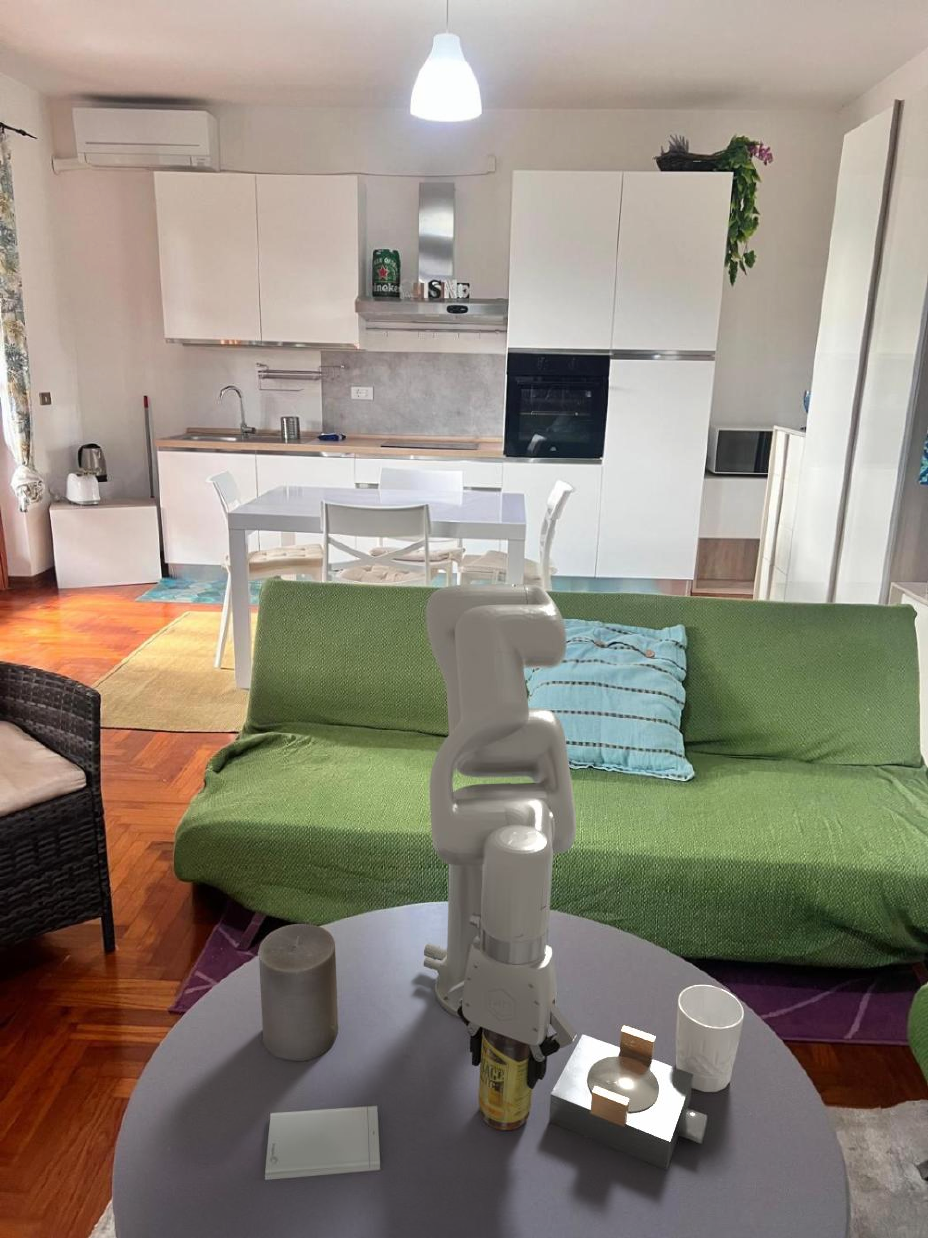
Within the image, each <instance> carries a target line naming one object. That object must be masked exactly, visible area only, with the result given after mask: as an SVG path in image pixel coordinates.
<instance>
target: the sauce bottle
mask: <svg viewBox="0 0 928 1238" xmlns="http://www.w3.org/2000/svg"><path fill="white" fill-rule="evenodd" d="M531 1054H532V1051H531V1048H530V1045H529V1044H526V1043H523V1042H520V1041H518V1040H515V1039H512V1038H509V1037H507V1036H504V1035H501V1034H499V1033H496V1032H494V1031H491V1030H488V1029H486V1028H483V1032H482V1047H481V1063H480V1064H479V1079H478V1080H479V1083H478V1105H479V1113H480V1115H481V1119H482V1120H483V1121H484V1122H485V1123H487V1124H488V1125H489V1126H490V1127H492V1128H493V1129H495V1130H497V1131H513V1130H515V1129H518V1128H519V1127H521V1126H522V1125H523V1124H525V1122H526V1121H527V1120H528V1118H529V1116H530V1109H531V1105H532V1095H533V1093H532V1092H533V1089H531V1088H529V1087H528V1086H527V1076H528V1061H529V1058H530V1056H531Z"/></svg>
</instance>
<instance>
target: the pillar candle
mask: <svg viewBox="0 0 928 1238" xmlns="http://www.w3.org/2000/svg"><path fill="white" fill-rule="evenodd" d="M257 956H258V962H259V963H258V965H259V980H260V981H259V982H260V983H259V984H260V985H259V986H260V999H261V1000H260V1001H261V1003H260V1004H261V1017H262V1018H261V1019H262V1021H261V1022H262V1039H263V1040H262V1041H263V1044H264V1047H265V1049H266V1050H267V1052H268V1053H269V1054H270V1055H272V1056H273V1057H275V1058H277V1059H282V1060H288V1061H294V1062H296V1061H297V1062H304V1061H309V1060H312V1059H314V1058H317V1057H319V1056H321V1055H323V1054H324V1053H326V1052H327V1051H328V1050H329V1049H330V1048H331V1047H332V1046H333V1045H334V1044H335V1041H336V1040H337V1037H338V1034H339V1016H338V1015H339V1013H338V1012H339V1011H338V1008H339V1007H338V987H337V986H338V985H337V960H336V959H337V958H336V942H335V939H334V936H333V935H332V934H331V932H329V931H328V930H326V929H325V928H323V927H321V926H318V925H315V924H308V923H295V924H288V925H284V926H281V927H279V928H277V929H275V930H273V931H271V932H270V933H269V934H267V935H266V936H265V937H264V938H263V939H262V941H261V943H260V944H259V947H258V951H257Z"/></svg>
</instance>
